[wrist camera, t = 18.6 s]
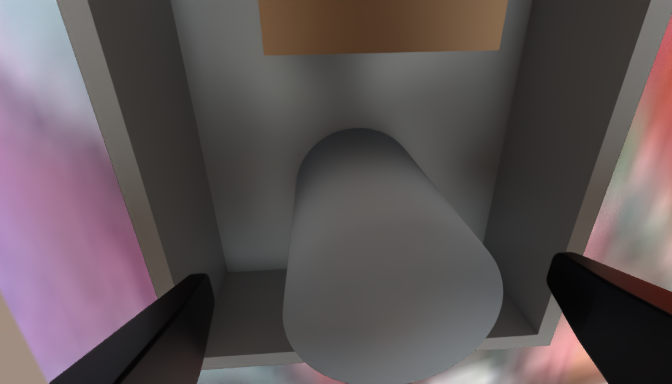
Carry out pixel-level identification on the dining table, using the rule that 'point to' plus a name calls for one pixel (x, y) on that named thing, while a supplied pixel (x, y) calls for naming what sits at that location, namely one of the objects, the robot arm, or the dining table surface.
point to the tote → (357, 112)
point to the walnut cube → (380, 26)
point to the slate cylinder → (382, 267)
